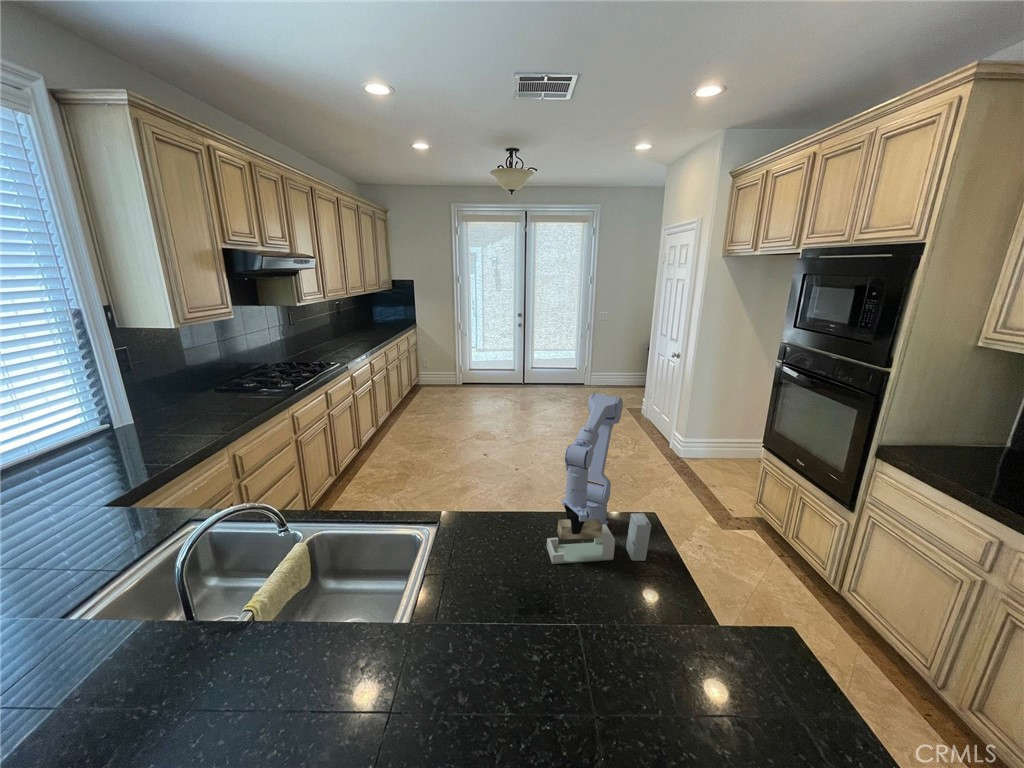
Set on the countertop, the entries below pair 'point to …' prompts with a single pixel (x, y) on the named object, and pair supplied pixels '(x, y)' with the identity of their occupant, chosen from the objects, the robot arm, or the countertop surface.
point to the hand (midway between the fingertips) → (573, 529)
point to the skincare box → (638, 537)
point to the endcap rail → (582, 549)
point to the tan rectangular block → (589, 529)
